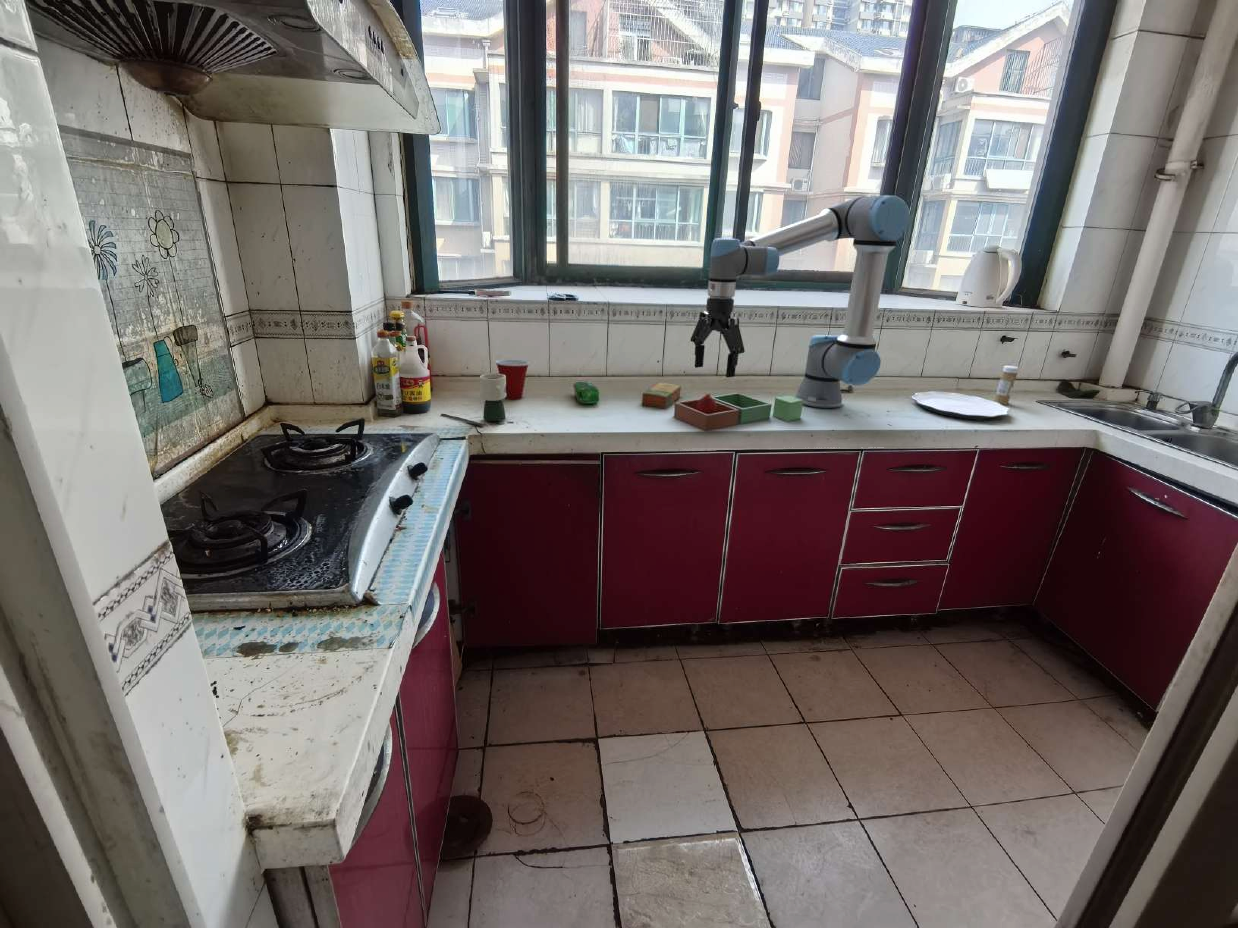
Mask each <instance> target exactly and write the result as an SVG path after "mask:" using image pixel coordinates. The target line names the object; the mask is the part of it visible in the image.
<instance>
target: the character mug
mask: <svg viewBox="0 0 1238 928" xmlns="http://www.w3.org/2000/svg"><path fill="white" fill-rule="evenodd" d="M479 385H480V397H481V399H482V400H484V405H483V420H484V421H488V422H496V423H497V422H498V421H504V420H506V418H507V417H506V409H505V405H504V402H503V400H504V399H506V398H505V397H506V376H505V375H503V374H499V373H484V374H481V375H480V376H479Z"/></svg>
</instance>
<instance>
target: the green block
mask: <svg viewBox="0 0 1238 928" xmlns="http://www.w3.org/2000/svg"><path fill="white" fill-rule="evenodd" d="M802 409H803V400H801V399H798V398H795V397H794V396H791V395H784V396H777V397H775V398H774V404H773V409H772V410H773V411H772V417H774V418H777V419H780V420H783V421H785V422H791V421H796V420H800V419H801V416H802Z"/></svg>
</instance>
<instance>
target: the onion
mask: <svg viewBox="0 0 1238 928" xmlns="http://www.w3.org/2000/svg"><path fill="white" fill-rule="evenodd" d="M712 397H713V396H711V393H710V392H707V393H706V394H705V396H703V397H701V398H699V399H700V400H699V402H698V404H697V411H700V412H702V413H705V414H707V415H708V414H714V413H715V411H716V402H715V400H714V399H713V398H712Z"/></svg>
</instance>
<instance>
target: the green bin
mask: <svg viewBox="0 0 1238 928" xmlns="http://www.w3.org/2000/svg"><path fill="white" fill-rule="evenodd" d="M711 397H712V398H713V399H714V400H715V401H716V402H719V403H722V404H724V405H727V406H730V407H732V408H735V409H738V410H739V414H738V422H737V424H739V425H742V424H748V423H752V422H758V421H762V420H767V419H770V417H771V412H772V403H770V402H766V401H763V400H761V399H758V398H755V397H752V396H749V395H746V394H743V393H740V392H734V393H727V394H721V395H714V396H711Z"/></svg>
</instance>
